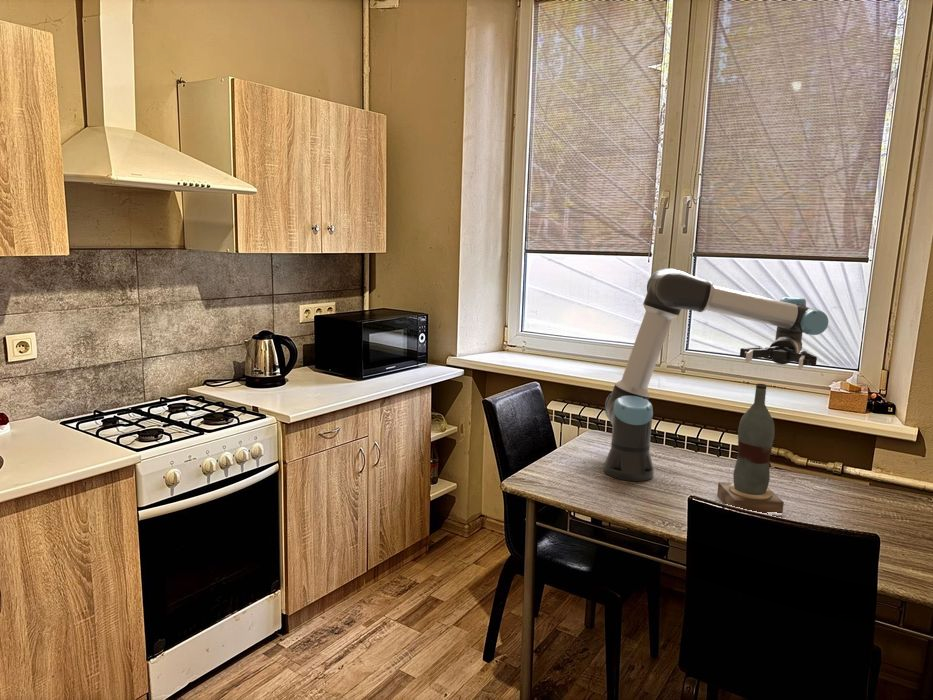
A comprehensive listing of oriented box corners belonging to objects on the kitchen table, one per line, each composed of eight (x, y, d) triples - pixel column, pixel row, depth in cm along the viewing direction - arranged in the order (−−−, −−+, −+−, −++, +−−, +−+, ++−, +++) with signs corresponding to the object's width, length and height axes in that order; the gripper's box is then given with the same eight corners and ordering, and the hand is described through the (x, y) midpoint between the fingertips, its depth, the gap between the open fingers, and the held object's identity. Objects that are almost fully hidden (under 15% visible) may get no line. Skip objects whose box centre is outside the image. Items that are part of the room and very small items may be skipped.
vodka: (741, 496, 179) (753, 388, 173) (726, 483, 188) (736, 380, 182) (774, 496, 179) (787, 388, 174) (757, 483, 188) (769, 381, 183)
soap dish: (717, 495, 191) (718, 480, 190) (762, 497, 190) (764, 482, 190) (733, 514, 178) (735, 497, 177) (782, 516, 178) (784, 500, 177)
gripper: (828, 368, 196) (821, 380, 178) (739, 357, 209) (725, 368, 191) (831, 343, 195) (825, 352, 177) (741, 334, 208) (727, 342, 190)
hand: (773, 360), depth 184 cm, fingers open, 13 cm apart
